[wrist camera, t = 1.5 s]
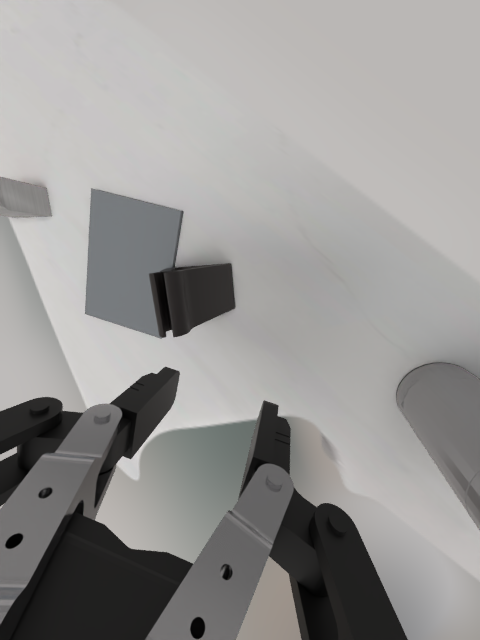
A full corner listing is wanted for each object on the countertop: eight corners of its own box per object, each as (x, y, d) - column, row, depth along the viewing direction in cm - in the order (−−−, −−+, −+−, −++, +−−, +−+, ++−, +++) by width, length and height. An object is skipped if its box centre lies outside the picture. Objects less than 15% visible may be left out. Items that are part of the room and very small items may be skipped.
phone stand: (231, 263, 33) (208, 269, 21) (235, 308, 34) (215, 336, 23) (166, 267, 34) (112, 276, 23) (172, 310, 36) (124, 338, 24)
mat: (183, 211, 32) (181, 210, 32) (163, 337, 38) (161, 338, 37) (94, 189, 34) (91, 188, 34) (88, 313, 40) (85, 313, 39)
